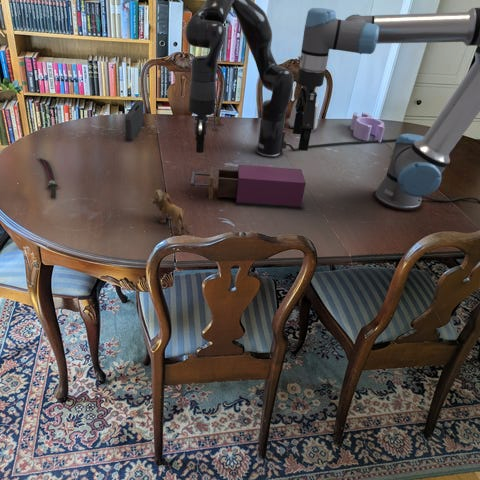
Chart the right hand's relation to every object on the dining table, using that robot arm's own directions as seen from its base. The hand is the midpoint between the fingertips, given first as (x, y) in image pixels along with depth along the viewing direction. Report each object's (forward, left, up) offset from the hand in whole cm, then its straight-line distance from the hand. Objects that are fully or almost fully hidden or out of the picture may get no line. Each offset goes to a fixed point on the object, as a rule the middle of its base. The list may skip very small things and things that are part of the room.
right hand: (299, 141), depth 142 cm
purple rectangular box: (+7, -1, -20) cm, 22 cm away
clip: (-52, -65, -20) cm, 85 cm away
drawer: (+20, -3, -19) cm, 28 cm away
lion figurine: (+39, +16, -20) cm, 47 cm away
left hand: (+30, -4, -6) cm, 31 cm away
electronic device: (-23, -70, -20) cm, 77 cm away
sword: (+78, -14, -20) cm, 82 cm away
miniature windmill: (+20, -69, -20) cm, 74 cm away
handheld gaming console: (+52, -58, -20) cm, 81 cm away
